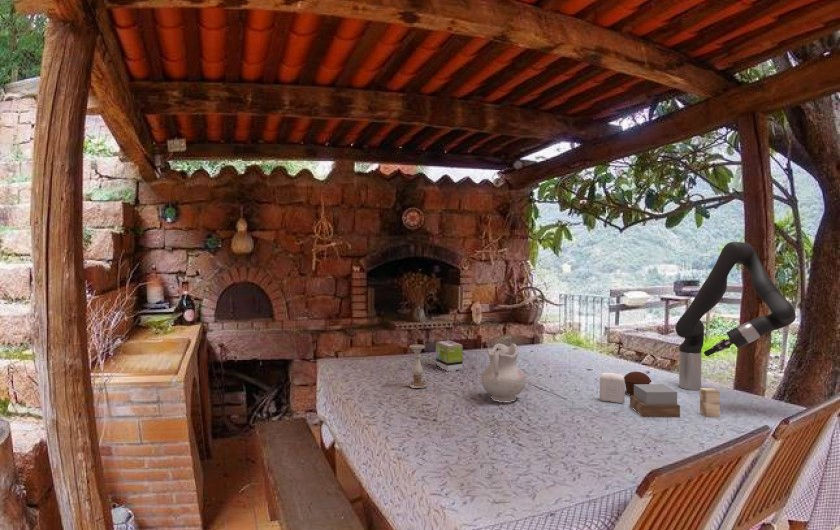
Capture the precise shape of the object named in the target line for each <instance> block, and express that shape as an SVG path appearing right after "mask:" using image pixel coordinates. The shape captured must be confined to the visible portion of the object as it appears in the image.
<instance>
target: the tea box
mask: <svg viewBox="0 0 840 530" xmlns="http://www.w3.org/2000/svg"><path fill="white" fill-rule="evenodd" d="M463 349H464V348H463V344H461V343H459V342H455V341H452V340H442V341H435V365H436V364H437V365H439V366H441V367H443V368H445V369H447V370H449V369H458V368H463V366H464V365H463V364H464V363H463V361H464V360H463V357H464V356H463V353H464V352H463Z"/></svg>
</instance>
